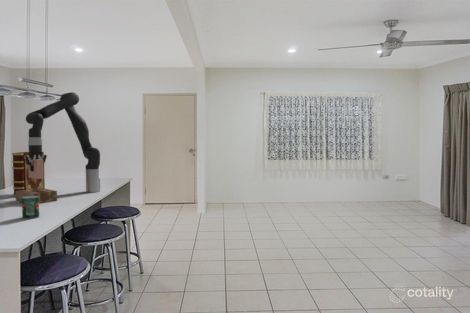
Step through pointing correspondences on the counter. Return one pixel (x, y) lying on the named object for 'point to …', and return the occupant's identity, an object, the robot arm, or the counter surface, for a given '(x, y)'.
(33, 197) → the canned tomato
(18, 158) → the decorative book
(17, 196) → the book stand
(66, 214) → the counter surface
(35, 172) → the pink rectangular block
